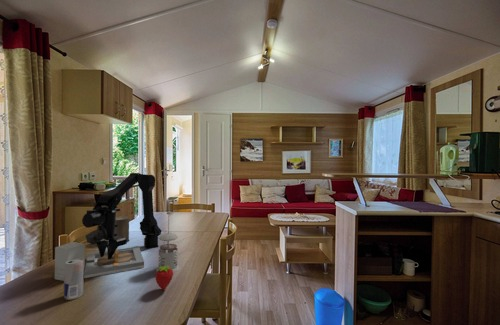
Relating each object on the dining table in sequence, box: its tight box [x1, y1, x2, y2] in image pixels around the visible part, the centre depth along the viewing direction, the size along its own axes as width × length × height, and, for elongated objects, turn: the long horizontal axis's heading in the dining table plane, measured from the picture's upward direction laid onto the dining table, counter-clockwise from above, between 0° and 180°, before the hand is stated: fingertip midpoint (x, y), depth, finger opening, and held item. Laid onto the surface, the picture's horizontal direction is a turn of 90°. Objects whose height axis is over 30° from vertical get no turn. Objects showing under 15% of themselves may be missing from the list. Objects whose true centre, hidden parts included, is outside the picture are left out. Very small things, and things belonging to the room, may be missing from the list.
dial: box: [97, 249, 132, 266], centre depth 114 cm, size 14×14×5 cm
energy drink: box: [63, 258, 84, 301], centre depth 86 cm, size 5×5×12 cm
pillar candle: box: [114, 215, 130, 243], centre depth 145 cm, size 10×10×15 cm
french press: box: [155, 210, 180, 273], centre depth 110 cm, size 10×12×25 cm
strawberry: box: [154, 265, 174, 291], centre depth 91 cm, size 6×8×10 cm
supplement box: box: [54, 241, 86, 282], centre depth 100 cm, size 7×7×13 cm
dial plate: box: [83, 246, 145, 279], centre depth 114 cm, size 22×22×3 cm
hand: (105, 258), depth 110 cm, fingers open, 5 cm apart
